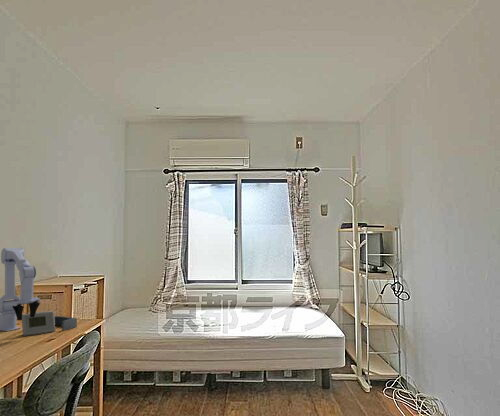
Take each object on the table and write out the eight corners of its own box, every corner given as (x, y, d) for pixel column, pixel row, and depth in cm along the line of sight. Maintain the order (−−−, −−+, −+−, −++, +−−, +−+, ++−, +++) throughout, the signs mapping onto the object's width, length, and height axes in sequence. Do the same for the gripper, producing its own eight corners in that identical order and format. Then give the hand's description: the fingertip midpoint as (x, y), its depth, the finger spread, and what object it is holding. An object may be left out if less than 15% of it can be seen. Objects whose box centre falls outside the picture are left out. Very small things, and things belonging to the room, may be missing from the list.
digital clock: (21, 337, 214) (22, 315, 215) (20, 333, 222) (20, 312, 223) (56, 333, 223) (57, 312, 224) (53, 329, 231) (54, 309, 231)
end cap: (43, 328, 234) (44, 318, 234) (57, 324, 243) (57, 315, 243) (63, 330, 229) (64, 321, 229) (76, 327, 237) (76, 318, 237)
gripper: (20, 293, 206) (19, 321, 205) (44, 289, 219) (43, 316, 218) (9, 292, 208) (8, 320, 207) (34, 288, 222) (33, 315, 221)
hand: (25, 318), depth 213 cm, fingers open, 7 cm apart
